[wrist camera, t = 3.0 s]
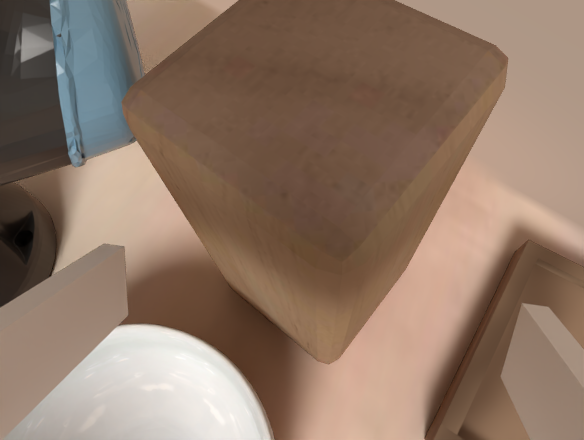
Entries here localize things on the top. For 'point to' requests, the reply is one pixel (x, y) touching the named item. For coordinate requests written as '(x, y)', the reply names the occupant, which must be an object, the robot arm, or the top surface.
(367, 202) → the block
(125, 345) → the cereal bowl
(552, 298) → the tray
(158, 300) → the top surface
